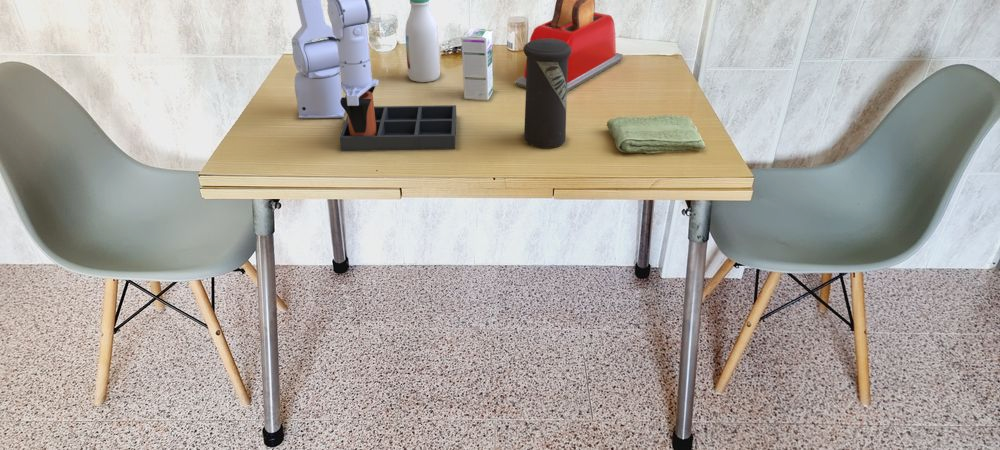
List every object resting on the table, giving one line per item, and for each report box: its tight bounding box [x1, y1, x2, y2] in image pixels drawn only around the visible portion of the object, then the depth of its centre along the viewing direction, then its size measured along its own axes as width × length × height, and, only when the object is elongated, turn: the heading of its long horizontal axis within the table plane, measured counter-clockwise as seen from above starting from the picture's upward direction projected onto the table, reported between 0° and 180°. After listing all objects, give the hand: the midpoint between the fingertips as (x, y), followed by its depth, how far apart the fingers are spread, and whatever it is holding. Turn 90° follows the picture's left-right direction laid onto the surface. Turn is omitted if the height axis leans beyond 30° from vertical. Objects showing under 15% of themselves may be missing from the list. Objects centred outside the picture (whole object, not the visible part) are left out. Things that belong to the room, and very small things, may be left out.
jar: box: [344, 91, 377, 136], centre depth 142 cm, size 5×5×9 cm
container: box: [522, 39, 572, 149], centre depth 141 cm, size 9×9×20 cm
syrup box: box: [461, 28, 494, 101], centre depth 162 cm, size 6×6×14 cm
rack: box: [338, 104, 457, 152], centre depth 148 cm, size 22×15×3 cm
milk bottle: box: [404, 0, 441, 83], centre depth 170 cm, size 8×8×20 cm
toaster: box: [515, 0, 624, 93], centre depth 173 cm, size 32×13×19 cm, turn 144°
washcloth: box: [606, 114, 706, 155], centre depth 145 cm, size 13×18×3 cm
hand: (362, 125), depth 143 cm, fingers closed on jar, 5 cm apart
